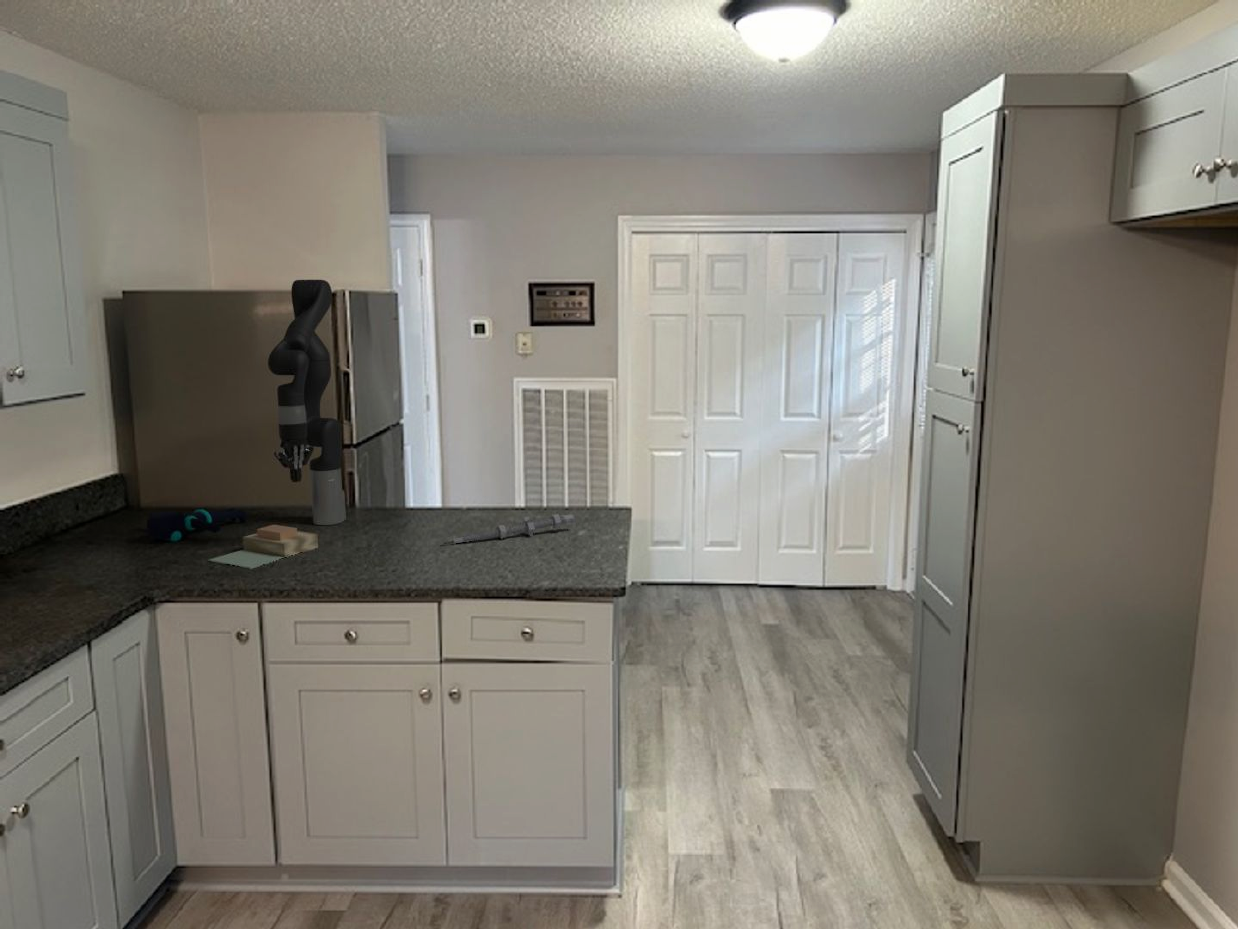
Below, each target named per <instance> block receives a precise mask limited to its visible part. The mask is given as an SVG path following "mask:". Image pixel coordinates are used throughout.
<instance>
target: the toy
mask: <svg viewBox="0 0 1238 929" xmlns="http://www.w3.org/2000/svg"><path fill="white" fill-rule="evenodd" d="M246 518H247V516H246V511H245V510H244V509H235V508H234V507H230V508H224V509H217V510H212V511H210V510H209V511H206V510H205V509H196V510H195V511H194V512H190V513H183V512H181V511H177V510H166V511H162V512H158V513H151V514H150V515H149V517H147V519H146V531H147V532H146V534H147V535H148V537H149V538H151V539H153V540H164V541H168V540H170V541H169V542H178V540H179V541H180V540H181V538H183V537H185V536H186V530H187V531H193V530H196V529H199V530H204V531H205V530H206V531H209V532H211V533H214V534H215V533H218V532H219V531H221V526H220V525H219V524H217V522H222V521H227V520H230V521H231V522H232V521H235V522H236V521H237V519H239V522H240V523H241V524H245V523H246V520H247V519H246Z"/></svg>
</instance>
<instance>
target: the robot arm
mask: <svg viewBox="0 0 1238 929" xmlns="http://www.w3.org/2000/svg"><path fill="white" fill-rule="evenodd" d="M290 291H291V294H290V295H291V303H292V310H293V315H294V319H293V320H292V321H291V322H290V324H289V325H288V327H287V329H286V331H285V334H284V336H283V339H281V341H279V343H278V344H276V346H275V347H274V348H273V349H272V350H271V352H270V353H269V356H268V359H267V366H268V369H269V371H270V372H271V373H272V374H273V375H275V376H293V378H292V379H293V380H291V382H288V383H283V384H280V385H278V386H277V389H276V395H277V407H278V408H277V421H278V422H277V423H278V437H279V439H280V440H281V441H280V448H279V449H278V450H277V451H274V454H273V455H274V457H275V458H276V459H277V460H278V462H279V463H280V465H282V467H283V468H287V469H289V477H290V480H291V482H292V483H299V482H301V481H302V468H303V467H304V466H307V465H308V462H309V475H310V490H311V491H310V492H311V505H312V506H311V507H312V508H311V509H312V521H313V524H314V525H318V526H331V525H337V524H342V523H344V521H346V520H347V513H346V511H347V510H346V496H345V491H344V489H343V486H342V485H343V484H342V468H341V467H342V465H341V463H342V458H343V430H342V426H341V423H340V422H339V420H338V419H337V418H336V419H335V418H332V417H331V418H330V417H321V401H322V400H321V399H322V397H323V395H324V393H325V390H326V388H327V387H328V384H329V382H330V380H331V376H332V366H331V355H330V352H329V350H328V348H327V347H326V344H325V343H324V342H323V341H322V339H321V338H320V336H319V335H318V334H317V332H316V329H317V327H318V326H319V325H320V323H321V322H322V321H323V318H324V317H325V316H326V314H327V312H328V311H329V309H330V307H331V304H332V301H333V300H332V299H333V293H332V288H331V285H330V283H329V282H328V281H327V280H325V279H295V280H294V281H293V282H292V284H291V290H290ZM314 448H321V454H320V455H319V456H318V457H314V458H312V459H311V456H312V454H313V452H314V450H315V449H314ZM310 459H311V460H310ZM309 460H310V461H309Z"/></svg>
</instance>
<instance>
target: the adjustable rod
mask: <svg viewBox="0 0 1238 929" xmlns="http://www.w3.org/2000/svg"><path fill="white" fill-rule="evenodd" d="M523 520H524V523H522V524H517V525H512V526H505V525H504V524H500V525H496V528H495V529H490V530H487V531H482V532H478V533H471V534H466V535H462V536H461V537H457V538H452V541H446V542H440V546H441V545H442V544H443V545H444V544H445V545H448V544H453V543H459V542H467V541H468V542H469V541H473V542H477V541H478V540H480V541H483V540H489V539H493V538H494V539H495V538H499V537H500V538H505V537H506V538H507V537H508V536H510V535H513V534H517V533H522V532H523V533H527V534H526V535H529V534H531V533H534V534H535V530H538V529H541V528H542V529H544V528H548V527H552V528H553V529H560V528H561V525H563V524H569V523H574V522H575V516H574V514H571V513H570V514H567V515H566V514H563V515H561V516H560V515H559V514H558V513H557V514H556V513H555V514H553V515H550V517H549V518H547V519H542V520H538V521H534V519H533V518H530V516H524V517H523ZM474 540H475V541H474ZM476 540H477V541H476ZM468 542H467V543H468ZM447 543H448V544H447ZM443 545H442V546H443Z"/></svg>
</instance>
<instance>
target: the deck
mask: <svg viewBox="0 0 1238 929" xmlns="http://www.w3.org/2000/svg"><path fill="white" fill-rule="evenodd" d="M318 536H319V535H318V533H313V532H306V531H302V530H301V531H300V530H297V536H295V537H291V538H288V539H285V540H281V541H280V540H274V539H267V538H261V537H257V532H256V533H253V534H249V535H246V536H245V535H244V536H242V541H243V543H242V544H243V550H245V551H251V552H257V553H263V554H268V555H274V556H280V557H284V559H285V557H287V558H290V557H292V556H291V555H293V556H296V555H295V554H297V555H299V554H298V553H300V552H303V553H306V552H309V551H311V550H312V551H313V550H315V548H316V549H318V548H319V541H318V540H319V539H318V538H319V537H318ZM300 554H301V553H300ZM289 556H290V557H289Z"/></svg>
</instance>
